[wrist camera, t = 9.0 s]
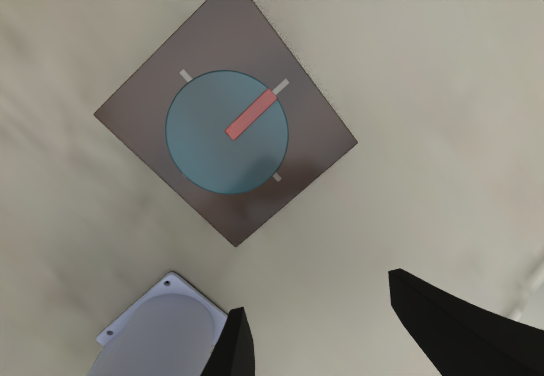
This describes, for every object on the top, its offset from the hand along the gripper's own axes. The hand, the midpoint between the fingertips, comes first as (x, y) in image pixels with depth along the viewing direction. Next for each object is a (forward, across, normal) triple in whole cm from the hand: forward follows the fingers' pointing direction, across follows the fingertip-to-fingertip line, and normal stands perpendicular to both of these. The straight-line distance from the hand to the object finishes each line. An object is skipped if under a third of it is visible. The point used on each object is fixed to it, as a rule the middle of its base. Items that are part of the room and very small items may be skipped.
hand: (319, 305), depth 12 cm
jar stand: (+10, +2, -8) cm, 13 cm away
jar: (+8, +2, -9) cm, 12 cm away
